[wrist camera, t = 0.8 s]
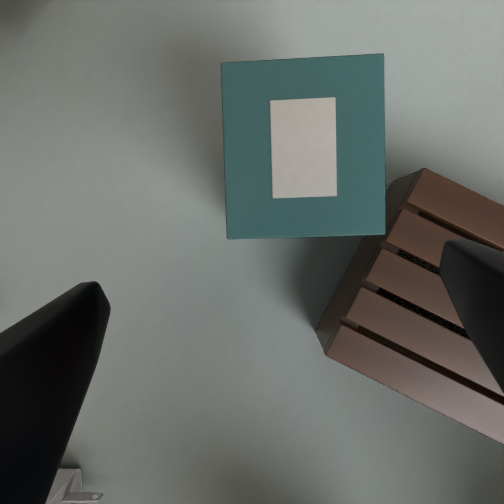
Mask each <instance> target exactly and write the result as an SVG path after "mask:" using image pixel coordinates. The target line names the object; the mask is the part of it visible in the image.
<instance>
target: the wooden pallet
mask: <svg viewBox="0 0 504 504" xmlns="http://www.w3.org/2000/svg"><path fill="white" fill-rule="evenodd" d="M461 238H465V239H468V240H471V241H474V242H477V243H479V244H482V245H485V246H488V247H490V248H493V249H496V250H499V251H501V252H504V206H502V205H500V204H498V203H496V202H494V201H492V200H490V199H488V198H486V197H484V196H482V195H480V194H477V193H475V192H473V191H471V190H469V189H467V188H465V187H463V186H461V185H459V184H457V183H455V182H453V181H451V180H449V179H447V178H445V177H442V176H440V175H438V174H436V173H434V172H432V171H430V170H428V169H426V168H422V169H420V170H419V171H416V172H414V173H412V174H409V175H407V176H404V177H402V178H399V179H397V180H395V181H393V183H392V184H391V186H390V188H389V190H388V192H387V194H386V196H385V234H384V235H365V236H364V238H363V240H362V242H361V244H360V246H359V248H358V250H357V252H356V254H355V256H354V257H353V259H352V261H351V263H350V265H349V267H348V269H347V271H346V273H345V275H344V277H343V279H342V280H341V282H340V284H339V286H338V288H337V290H336V292H335V294H334V296H333V298H332V300H331V302H330V304H329V305H328V307H327V309H326V311H325V313H324V315H323V317H322V319H321V321H320V323H319V325H318V327H317V328H316V330H315V333H316V335H317V337H318V339H319V341H320V343H321V345H322V348H323V350H324V354H325V355H326V356H327V357H329V358H331V359H333V360H335V361H337V362H339V363H341V364H343V365H345V366H347V367H349V368H351V369H353V370H355V371H357V372H359V373H361V374H363V375H365V376H367V377H369V378H371V379H373V380H375V381H377V382H379V383H381V384H383V385H385V386H387V387H389V388H391V389H393V390H395V391H397V392H399V393H401V394H403V395H405V396H407V397H409V398H411V399H413V400H415V401H417V402H419V403H421V404H423V405H425V406H427V407H429V408H431V409H433V410H435V411H437V412H439V413H441V414H443V415H445V416H447V417H449V418H451V419H453V420H455V421H457V422H459V423H461V424H463V425H465V426H467V427H469V428H471V429H473V430H475V431H477V432H479V433H481V434H483V435H485V436H487V437H489V438H491V439H493V440H495V441H497V442H499V443H501V444H503V445H504V394H503V392H502V390H501V389H500V387H499V385H498V384H497V382H496V380H495V379H494V377H493V376H492V374H491V372H490V371H489V369H488V367H487V366H486V364H485V362H484V361H483V359H482V357H481V356H480V354H479V352H478V351H477V349H476V348H475V346H474V344H473V343H472V341H471V340H470V339H468V338H466V337H464V336H462V335H460V334H458V333H456V332H454V331H452V330H450V329H448V328H446V327H444V326H442V325H440V324H438V323H436V322H434V321H432V320H430V319H428V318H426V317H424V316H422V315H420V314H418V313H416V312H414V311H412V310H410V309H408V308H405V307H403V306H401V305H399V304H397V303H395V302H393V301H391V300H389V299H387V298H385V297H383V296H381V295H379V294H377V293H376V292H377V290H378V288H379V287H380V288H382V289H384V290H386V291H388V292H390V293H392V294H394V295H396V296H398V297H400V298H402V299H404V300H406V301H408V302H410V303H412V304H414V305H417V306H419V307H421V308H423V309H425V310H427V311H429V312H431V313H433V314H435V315H437V316H439V317H441V318H443V319H445V320H447V321H449V322H451V323H453V324H455V325H457V326H459V327H461V328H463V329H464V327H463V325H462V323H461V321H460V319H459V317H458V314H457V312H456V310H455V308H454V306H453V303H452V301H451V299H450V297H449V295H448V292H447V290H446V288H445V286H444V284H443V281H442V279H441V277H440V276H439V275H437V274H435V273H433V272H431V271H429V270H427V269H425V268H423V267H421V266H419V265H417V264H415V263H413V262H411V261H409V260H407V259H405V258H403V257H401V256H399V255H397V252H398V251H399V249H400V250H402V251H404V252H406V253H408V254H410V255H412V256H414V257H416V258H418V259H420V260H422V261H424V262H426V263H428V264H430V265H432V266H434V267H436V268H438V269H439V266H440V261H441V256H442V251H443V246H444V243H445V242H446V241H448V240H453V239H461Z"/></svg>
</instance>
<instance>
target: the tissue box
mask: <svg viewBox="0 0 504 504" xmlns="http://www.w3.org/2000/svg"><path fill="white" fill-rule="evenodd" d="M221 88H222V116H223V145H224V174H225V203H226V231H227V239H258V238H292V237H325V236H359V235H384V234H385V110H384V54H365V55H348V56H330V57H313V58H295V59H278V60H260V61H243V62H225V63H221Z"/></svg>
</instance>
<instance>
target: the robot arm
mask: <svg viewBox="0 0 504 504" xmlns="http://www.w3.org/2000/svg"><path fill="white" fill-rule="evenodd" d="M439 273H440V277H441V279H442V281H443V284H444V286H445V288H446V290H447V292H448V295H449V297H450V299H451V301H452V303H453V306H454V308H455V310H456V312H457V314H458V317H459V319H460V321H461V323H462V325H463V327H464V329H465V331H466V332H467V334H468V336H469V338H470V339H471V341H472V343H473V344H474V346H475V348H476V349H477V351H478V352H479V354H480V356H481V357H482V359H483V361H484V362H485V364H486V366H487V367H488V369H489V371H490V372H491V374H492V376H493V377H494V379H495V380H496V382H497V384H498V385H499V387H500V389H501V390H502V392H503V394H504V252H501V251H499V250H496V249H493V248H490V247H488V246H485V245H482V244H479V243H477V242H474V241H471V240H468V239H465V238H461V239H453V240H448V241H446V242H445V243H444V246H443V251H442V256H441V261H440V266H439ZM110 310H111V308H110V304H109V301H108V299H107V297H106V296H105V294H104V292H103V290H102V288H101V286H100V284H99V283H98V282H95V281H92V282H83V283H80V284H78V285H77V286H75V287H73V288H72V289H70V290H69V291H67V292H65V293H64V294H62V295H61V296H59V297H57V298H56V299H54V300H53V301H51V302H49V303H48V304H46V305H45V306H43V307H41V308H40V309H38V310H37V311H35V312H33V313H32V314H30V315H29V316H27V317H26V318H24V319H22V320H21V321H19V322H18V323H16V324H14V325H13V326H11V327H10V328H8V329H6V330H5V331H3V332H2V333H0V504H46V501H47V498H48V496H49V493H50V490H51V487H52V485H53V482H54V479H55V477H56V474H57V471H58V469H59V466H60V463H61V460H62V458H63V455H64V452H65V450H66V447H67V444H68V441H69V439H70V436H71V433H72V431H73V428H74V425H75V422H76V420H77V417H78V414H79V412H80V409H81V406H82V403H83V401H84V398H85V395H86V393H87V390H88V387H89V385H90V382H91V379H92V376H93V374H94V371H95V368H96V365H97V362H98V359H99V355H100V351H101V348H102V344H103V340H104V336H105V332H106V328H107V324H108V320H109V316H110Z"/></svg>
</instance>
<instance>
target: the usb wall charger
mask: <svg viewBox="0 0 504 504" xmlns="http://www.w3.org/2000/svg"><path fill="white" fill-rule="evenodd" d="M95 496H99V497H98V498H97V499H92V498H93V497H95ZM102 496H103V493H94V492H83V490H82V474H81V470H80V469H58V471H57V474H56V477H55V479H54V482H53V485H52V487H51V490H50V493H49V496H48V498H47V501H46V504H83V503H90V502H99V501H100V499H101V498H102Z"/></svg>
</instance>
